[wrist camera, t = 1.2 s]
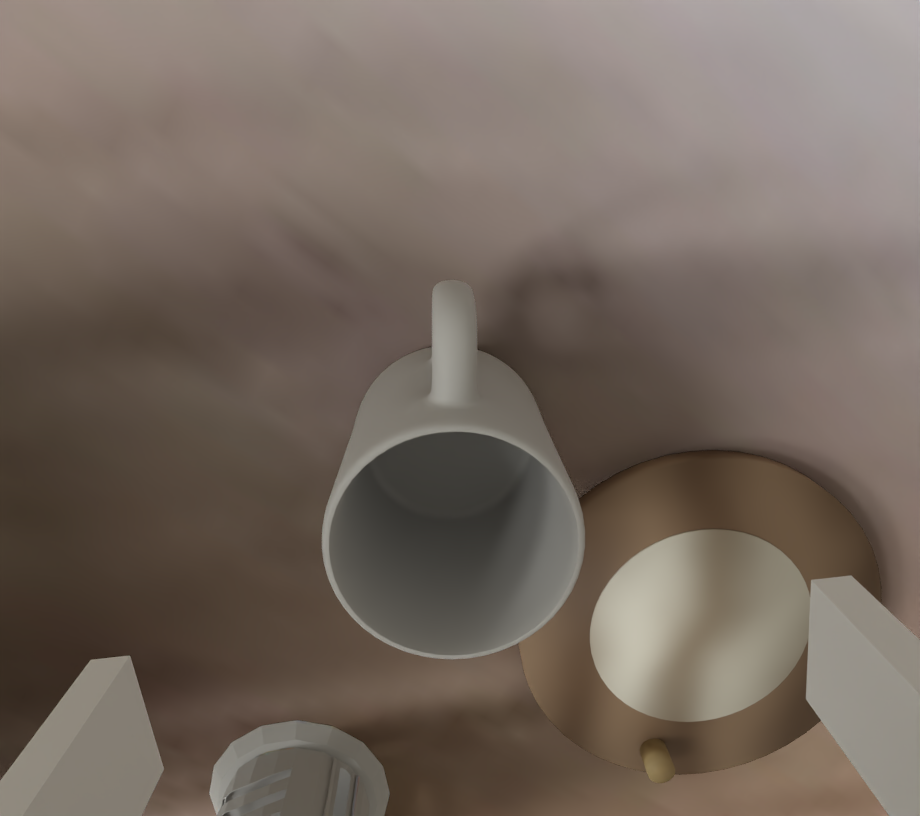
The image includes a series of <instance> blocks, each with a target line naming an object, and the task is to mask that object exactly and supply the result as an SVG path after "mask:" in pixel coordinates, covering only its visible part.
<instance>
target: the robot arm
mask: <svg viewBox="0 0 920 816" xmlns="http://www.w3.org/2000/svg"><path fill="white" fill-rule="evenodd" d="M806 700H807V701H808V703H809V704H810V706H811V707H812V708H813V710H814V711H815V713H816V714H817V715H818V717H819V718H820V720H821V721H822V722H823V724H824V725H825V727H826V728H827V729H828V731H829V732H830V734H831V735H832V736H833V738H834V739H835V741H836V742H837V743H838V745H839V746H840V748H841V749H842V750H843V752H844V753H845V755H846V756H847V757H848V759H849V760H850V762H851V763H852V764H853V766H854V767H855V769H856V770H857V771H858V773H859V774H860V776H861V777H862V778H863V780H864V781H865V783H866V784H867V785H868V787H869V788H870V790H871V791H872V792H873V794H874V795H875V797H876V798H877V799H878V801H879V802H880V804H881V805H882V806H883V808H884V809H885V811H886V812H887V813H888V815H889V816H920V640H919V639H918V638H917V637H916V636H915V635H914V634H913V633H912V632H911V631H910V630H909V629H908V628H907V627H905V626H904V625H903V624H902V623H901V622H900V621H899V620H898V619H897V618H896V617H895V616H894V615H893V614H892V613H891V612H890V611H888V610H887V609H886V608H885V607H884V606H883V605H882V604H881V603H880V602H879V601H878V600H877V599H876V598H875V597H874V596H873V595H871V594H870V593H869V592H868V591H867V590H866V589H865V588H864V587H863V586H862V585H861V584H860V583H859V582H858V581H857V580H856V579H855V578H853V577H852V576H842V577H833V578H824V579H814V580H811V593H810V616H809V638H808V660H807V683H806ZM163 770H164V767H163V764H162V761H161V757H160V754H159V751H158V747H157V744H156V741H155V737H154V734H153V731H152V727H151V724H150V721H149V717H148V714H147V710H146V707H145V704H144V700H143V697H142V694H141V690H140V687H139V684H138V680H137V677H136V674H135V670H134V667H133V664H132V660H131V657H130V655H129V656H120V657H111V658H102V659H93V660H90V661H89V663H88V664H87V665H86V667H85V668H84V669H83V671H82V672H81V673H80V675H79V676H78V677H77V679H76V680H75V681H74V683H73V684H72V685H71V687H70V688H69V689H68V691H67V692H66V693H65V695H64V696H63V697H62V699H61V700H60V701H59V703H58V704H57V706H56V707H55V708H54V710H53V711H52V712H51V714H50V715H49V716H48V718H47V719H46V720H45V722H44V723H43V724H42V726H41V727H40V728H39V730H38V731H37V732H36V734H35V735H34V736H33V738H32V739H31V740H30V742H29V743H28V744H27V746H26V747H25V748H24V750H23V751H22V752H21V754H20V755H19V756H18V758H17V759H16V760H15V762H14V763H13V764H12V766H11V767H10V768H9V770H8V771H7V772H6V774H5V775H4V776H3V778H2V779H1V780H0V816H142V814H143V812H144V810H145V808H146V806H147V804H148V802H149V799H150V797H151V795H152V793H153V791H154V789H155V787H156V785H157V783H158V781H159V779H160V777H161V774H162V772H163Z"/></svg>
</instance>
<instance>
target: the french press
mask: <svg viewBox="0 0 920 816" xmlns="http://www.w3.org/2000/svg"><path fill="white" fill-rule="evenodd" d="M209 794H210V797H211V800H212V803H213V806H214V809H215V812H216V815H217V816H384V815H385V811H386V807H387V803H388V800H389V796H390V792H389V788H388V784H387V780H386V776H385V772H384V768H383V766H382V764H381V763H380V762H379V761H378V760H377V758H376V757H375V756H374V755H373V754H372V752H371V751H370V750H369V749H368V748H367V746H366V745H365V744H364V743H363V742H361V741H360V740H358V739H356V738H354V737H352V736H350V735H348V734H347V733H345V732H343V731H341V730H339V729H337V728H336V727H334V726H329V725H323V724H317V723H311V722H305V721H299V720H295V721H289V722H282V723H276V724H270V725H263V726H260V727H258V728H257V729H255V730H253V731H251V732H249V733H248V734H246V735H244V736H242V737H240V738H239V739H237V740H235V741H233V742H232V743H231V744H230V746H229V747H228V748H227V749H226V751H225V752H224V753H223V755H222V756H221V757H220V759H219V760H218V761H217V763H216V764H215V765H214V768H213V774H212V781H211V787H210V793H209Z"/></svg>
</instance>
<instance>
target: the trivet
mask: <svg viewBox="0 0 920 816" xmlns="http://www.w3.org/2000/svg"><path fill="white" fill-rule="evenodd" d="M579 503H580V506H581V509H582V513H583V519H584V526H585V550H584V556H583V562H582V566H581V569H580V573H579V576H578V579H577V581H576V583H575V585H574V587H573V590H572V592H571V593H570V595H569V597H568V598H567V600H566V601H565V603H564V604H563V606H562V607H561V608H560V609H559V611H558V612H557V613H556V614H555V615H554V617H553V618H552V619H550V620H549V621H548V622H547V623H546V624H545V625H544V626H543V627H542V628H541V629H539V630H538V631H536V632H535V633H534V634H532V635H531V636H530V637H528V638H526V639H524V640H523V641H521V642H519V643H518V644H519V650H520V655H521V661H522V666H523V671H524V674H525V676H526V679H527V682H528V685H529V688H530V690H531V692H532V694H533V696H534V698H535V699H536V701H537V703H538V705H539V707H540V708H541V709H542V711H543V712H544V713H545V715H546V716H547V717H548V719H549V720H550V721H551V722H552V723H553V724H554V725H555V726H556V727H557V728H558V729H559V730H560V731H561V732H562V733H563V734H564V735H565V736H566V737H567V738H569V739H570V740H571V741H573V742H574V743H575V744H577V745H578V746H579V747H581V748H583V749H584V750H586V751H588V752H590V753H591V754H593V755H595V756H597V757H599V758H601V759H604V760H606V761H609V762H611V763H614V764H616V765H619V766H623V767H627V768H630V769H634V770H638V771H644V772H647V774H648V777H649V778H650V780H652V781H653V782H656V783H664V782H667V781H669V780H671V779H672V778H673V776H674V775H675V774H679V775H680V774H696V773H706V772H712V771H718V770H724V769H727V768H731V767H735V766H738V765H742V764H745V763H748V762H751V761H753V760H756V759H758V758H761V757H764V756H766V755H768V754H770V753H772V752H774V751H776V750H778V749H780V748H782V747H784V746H786V745H788V744H789V743H791V742H792V741H794V740H795V739H797V738H798V737H800V736H802V735H803V734H805V733H806V732H807V731H809V730H810V729H811V728H812V727H813V726H815V725H816V724H817V723H818V722H820V721H821V720H820V718H819V717H818V715H817V714H816V713H815V711H814V710H813V708H812V707H811V706H810V704H809V703H808V701H807V700H806V683H807V660H808V638H809V616H810V593H811V580H814V579H824V578H833V577H842V576H852V577H853V578H855V579H856V580H857V581H858V582H859V583H860V584H861V585H862V586H863V587H864V588H865V589H866V590H867V591H868V592H869V593H870V594H871V595H873V596H874V597H875V598H876V599H877V600H878V601H879V602H880V603H881V582H880V575H879V569H878V565H877V562H876V559H875V556H874V553H873V549H872V547H871V545H870V543H869V541H868V539H867V537H866V535H865V533H864V531H863V529H862V528H861V527H860V525H859V524H858V523H857V521H856V520H855V519H854V517H853V516H852V514H851V513H850V512H849V511H848V510H847V509H846V508H845V507H844V506H843V505H842V504H841V503H840V502H839V501H838V500H837V499H836V498H835V497H834V496H832V495H831V494H830V493H828V492H827V491H826V490H824V489H823V488H822V487H821V486H819V485H818V484H816V483H815V482H814V481H812V480H811V479H809V478H808V477H807V476H805V475H804V474H802V473H800V472H798V471H796V470H794V469H792V468H790V467H788V466H786V465H785V464H782V463H779V462H776V461H773V460H771V459H768V458H765V457H762V456H757V455H752V454H747V453H742V452H735V451H720V450H707V451H689V452H684V453H678V454H672V455H667V456H663V457H659V458H656V459H653V460H649V461H646V462H643V463H640V464H638V465H635V466H633V467H631V468H629V469H626V470H624V471H622V472H619V473H617V474H616V475H614V476H612V477H610V478H609V479H607V480H605V481H604V482H602V483H600V484H598V485H597V486H595V487H594V488H593V489H591V490H590V491H589V492H587V493H586V494H585V495H583V496H582V497H581V498H580V499H579Z"/></svg>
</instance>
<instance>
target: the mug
mask: <svg viewBox="0 0 920 816" xmlns="http://www.w3.org/2000/svg"><path fill="white" fill-rule="evenodd" d="M584 550H585V526H584V519H583V513H582V509H581V506H580V503H579V499H578V496H577V493H576V491H575V489H574V487H573V485H572V482H571V480H570V478H569V476H568V474H567V472H566V469H565V467H564V465H563V463H562V461H561V459H560V456H559V454H558V452H557V450H556V448H555V446H554V443H553V441H552V439H551V437H550V435H549V433H548V431H547V428H546V426H545V424H544V421H543V419H542V416H541V414H540V411H539V408H538V406H537V404H536V402H535V399H534V397H533V395H532V393H531V392H530V390H529V389H528V387H527V386H526V384H525V383H524V381H523V380H522V379H521V378H520V377H519V375H518V374H517V373H516V372H515V371H514V370H512V369H511V368H510V367H509V366H508V365H507V364H505V363H504V362H502V361H501V360H499V359H498V358H496V357H494V356H492V355H490V354H488V353H486V352H483V351H480V350H477V316H476V305H475V298H474V294H473V290H472V288H471V287H470V286H469V285H468V284H467V283H465V282H463V281H459V280H444V281H442V282H439V283H437V284H436V286H435V287H434V288H433V292H432V347H429V348H424V349H421V350H418V351H415V352H412V353H410V354H408V355H406V356H404V357H402V358H400V359H399V360H397V361H396V362H394V363H392V364H391V365H390V366H389V367H387V368H386V369H385V370H384V371H383V372H382V373H381V374H380V375H379V376H378V377H377V378H376V379H375V381H374V382H373V383H372V385H371V386H370V388H369V389H368V391H367V392H366V394H365V396H364V398H363V400H362V402H361V405H360V408H359V411H358V414H357V417H356V420H355V424H354V428H353V431H352V434H351V437H350V440H349V443H348V446H347V449H346V452H345V454H344V457H343V460H342V463H341V466H340V469H339V472H338V475H337V477H336V480H335V483H334V486H333V489H332V492H331V495H330V498H329V501H328V504H327V507H326V511H325V516H324V521H323V527H322V552H323V561H324V565H325V569H326V573H327V576H328V579H329V581H330V584H331V586H332V588H333V590H334V593H335V594H336V596H337V598H338V599H339V601H340V603H341V604H342V606H343V607H344V608H345V609H346V611H347V612H348V613H349V614H350V616H351V617H352V618H353V619H354V620H355V621H356V622H357V623H358V624H359V625H360V626H361V627H362V628H364V629H365V630H366V631H368V632H369V633H370V634H372V635H373V636H375V637H376V638H378V639H379V640H381V641H383V642H385V643H387V644H388V645H390V646H393V647H395V648H398V649H400V650H402V651H405V652H408V653H412V654H415V655H419V656H424V657H430V658H436V659H466V658H474V657H479V656H485V655H488V654H492V653H495V652H499V651H501V650H504V649H506V648H509V647H511V646H513V645H516V644H517V643H519V642H521V641H523V640H524V639H526V638H528V637H530V636H531V635H532V634H534V633H535V632H536V631H538V630H539V629H541V628H542V627H543V626H544V625H545V624H546V623H547V622H548V621H549V620H550V619H552V618H553V617H554V615H555V614H556V613H557V612H558V611H559V609H560V608H561V607H562V606H563V604H564V603H565V601H566V600H567V598H568V597H569V595H570V593H571V592H572V590H573V587H574V585H575V583H576V581H577V579H578V576H579V573H580V569H581V566H582V562H583V556H584Z"/></svg>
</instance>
